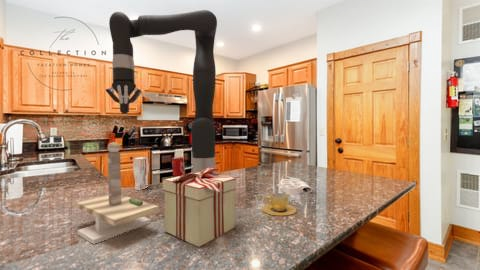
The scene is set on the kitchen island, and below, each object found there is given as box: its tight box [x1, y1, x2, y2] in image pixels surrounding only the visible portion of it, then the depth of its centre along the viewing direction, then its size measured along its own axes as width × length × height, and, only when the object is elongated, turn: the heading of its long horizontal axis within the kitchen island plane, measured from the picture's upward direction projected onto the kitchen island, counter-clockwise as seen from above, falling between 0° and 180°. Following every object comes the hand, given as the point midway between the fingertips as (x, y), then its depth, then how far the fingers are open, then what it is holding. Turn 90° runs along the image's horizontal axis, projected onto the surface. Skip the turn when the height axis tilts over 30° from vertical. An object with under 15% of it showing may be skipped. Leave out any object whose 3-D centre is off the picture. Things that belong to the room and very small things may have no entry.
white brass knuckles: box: [276, 178, 313, 196], centre depth 109 cm, size 3×18×15 cm
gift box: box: [162, 167, 239, 248], centre depth 66 cm, size 17×18×17 cm
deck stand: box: [77, 216, 151, 245], centre depth 68 cm, size 10×16×5 cm, turn 144°
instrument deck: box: [74, 141, 159, 226], centre depth 68 cm, size 24×12×20 cm, turn 54°
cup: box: [261, 192, 297, 216], centre depth 82 cm, size 12×12×5 cm
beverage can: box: [171, 156, 186, 178], centre depth 114 cm, size 6×6×15 cm
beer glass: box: [132, 156, 150, 191], centre depth 113 cm, size 7×7×15 cm
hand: (124, 113), depth 90 cm, fingers closed
